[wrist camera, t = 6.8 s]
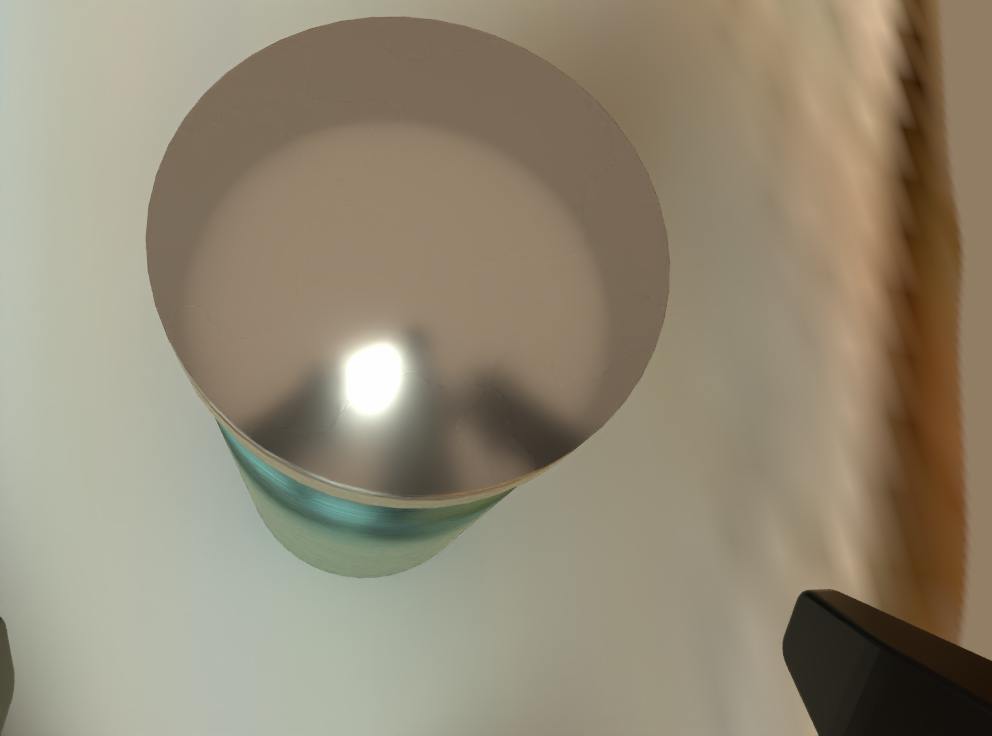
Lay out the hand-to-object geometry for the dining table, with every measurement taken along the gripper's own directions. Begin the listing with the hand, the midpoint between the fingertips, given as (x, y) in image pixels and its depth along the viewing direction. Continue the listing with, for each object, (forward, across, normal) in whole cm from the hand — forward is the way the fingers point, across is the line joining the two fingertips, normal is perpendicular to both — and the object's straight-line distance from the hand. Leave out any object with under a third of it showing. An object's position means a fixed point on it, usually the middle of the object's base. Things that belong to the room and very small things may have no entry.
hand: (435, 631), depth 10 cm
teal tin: (+12, 0, -5) cm, 13 cm away
